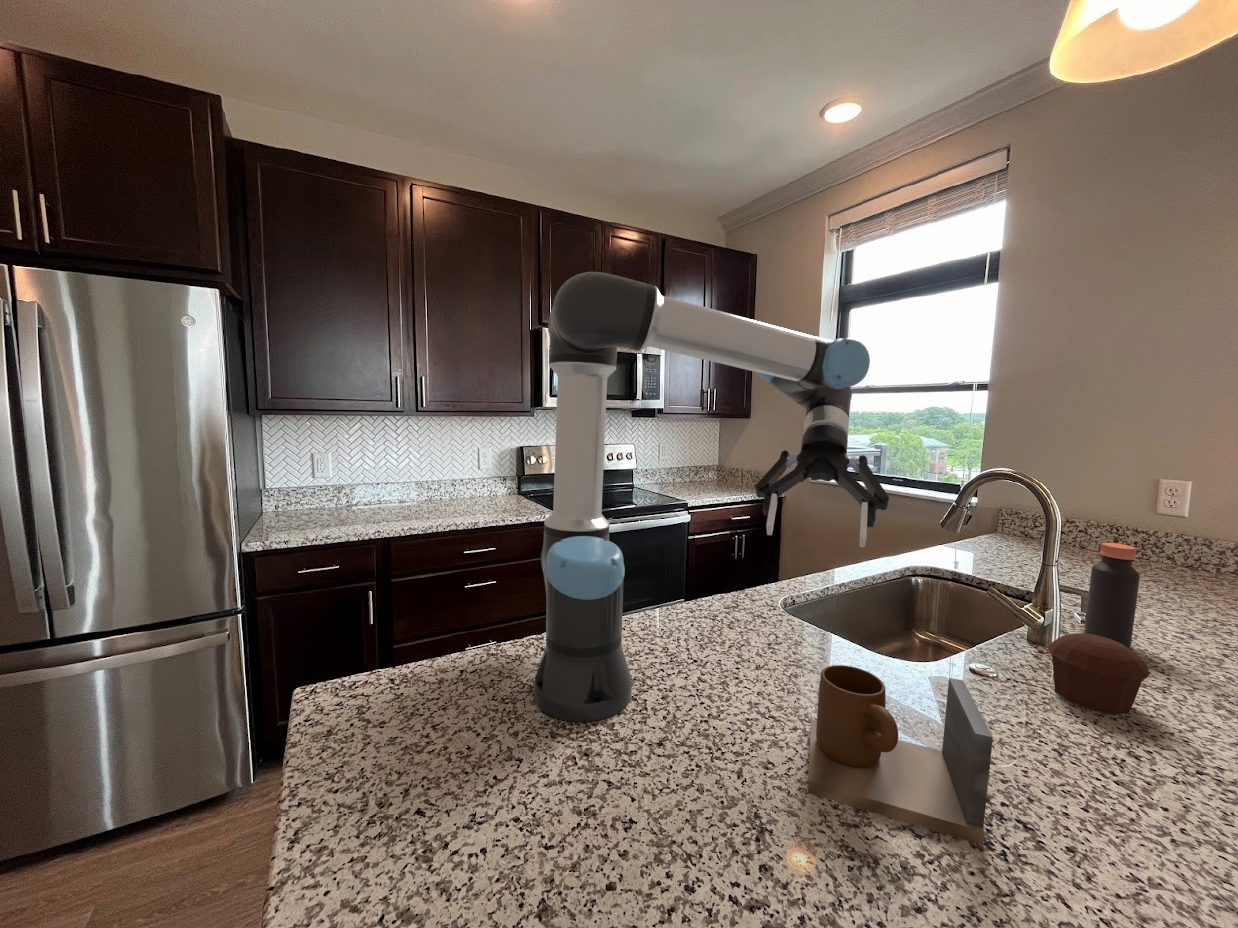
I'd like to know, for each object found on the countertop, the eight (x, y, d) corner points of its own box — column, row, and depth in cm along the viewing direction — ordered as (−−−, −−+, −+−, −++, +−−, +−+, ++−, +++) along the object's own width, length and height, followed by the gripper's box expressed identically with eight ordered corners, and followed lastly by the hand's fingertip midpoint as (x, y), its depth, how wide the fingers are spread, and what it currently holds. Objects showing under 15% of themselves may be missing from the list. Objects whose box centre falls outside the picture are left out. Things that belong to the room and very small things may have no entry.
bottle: (1124, 641, 101) (1136, 544, 99) (1135, 654, 95) (1149, 552, 93) (1079, 632, 104) (1090, 539, 102) (1088, 644, 99) (1099, 546, 97)
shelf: (807, 793, 58) (813, 699, 56) (810, 729, 69) (816, 650, 68) (983, 845, 51) (994, 740, 50) (953, 764, 63) (962, 678, 62)
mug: (921, 796, 55) (928, 717, 55) (857, 801, 54) (864, 720, 54) (857, 729, 67) (862, 662, 66) (804, 732, 66) (808, 665, 65)
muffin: (1040, 697, 79) (1047, 637, 78) (1043, 672, 87) (1050, 617, 86) (1149, 731, 71) (1158, 664, 70) (1141, 700, 79) (1149, 640, 78)
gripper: (901, 455, 87) (902, 560, 75) (755, 447, 97) (735, 538, 85) (907, 425, 81) (910, 533, 69) (752, 419, 92) (731, 512, 79)
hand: (814, 536), depth 77 cm, fingers open, 13 cm apart
